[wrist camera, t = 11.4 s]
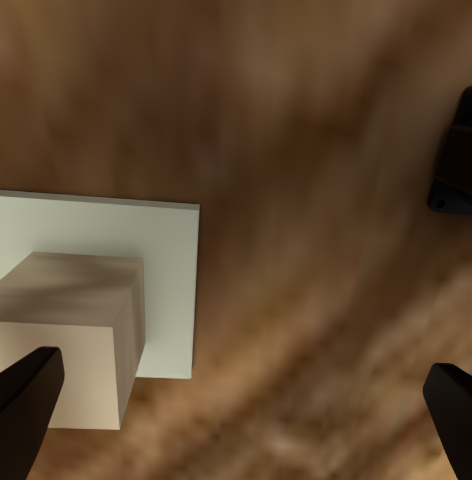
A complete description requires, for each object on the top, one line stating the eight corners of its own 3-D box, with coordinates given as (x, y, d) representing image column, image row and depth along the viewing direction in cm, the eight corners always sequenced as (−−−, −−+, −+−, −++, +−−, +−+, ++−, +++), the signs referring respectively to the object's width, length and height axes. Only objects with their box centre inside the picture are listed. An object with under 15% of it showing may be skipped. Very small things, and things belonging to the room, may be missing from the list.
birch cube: (143, 258, 19) (112, 327, 14) (145, 342, 22) (119, 429, 16) (32, 251, 19) (-45, 319, 13) (47, 338, 21) (-14, 425, 16)
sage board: (199, 204, 19) (198, 210, 18) (192, 367, 24) (190, 378, 23) (-27, 187, 18) (-39, 193, 17) (13, 360, 23) (5, 371, 22)
